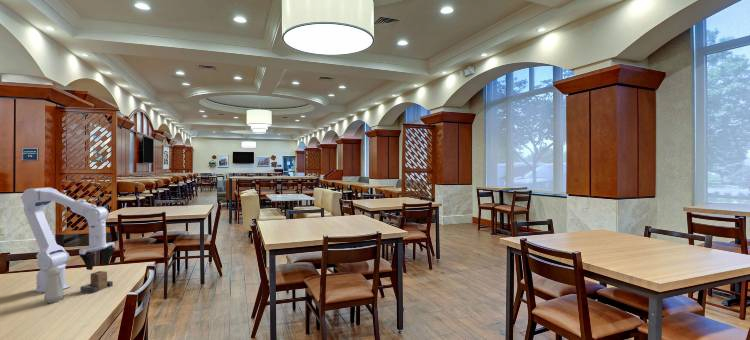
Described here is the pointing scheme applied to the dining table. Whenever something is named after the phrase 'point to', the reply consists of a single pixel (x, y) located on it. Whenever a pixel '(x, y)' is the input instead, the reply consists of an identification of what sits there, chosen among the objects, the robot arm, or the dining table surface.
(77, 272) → the dining table surface
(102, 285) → the brown upright block
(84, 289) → the bracket slot
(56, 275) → the grey vase
